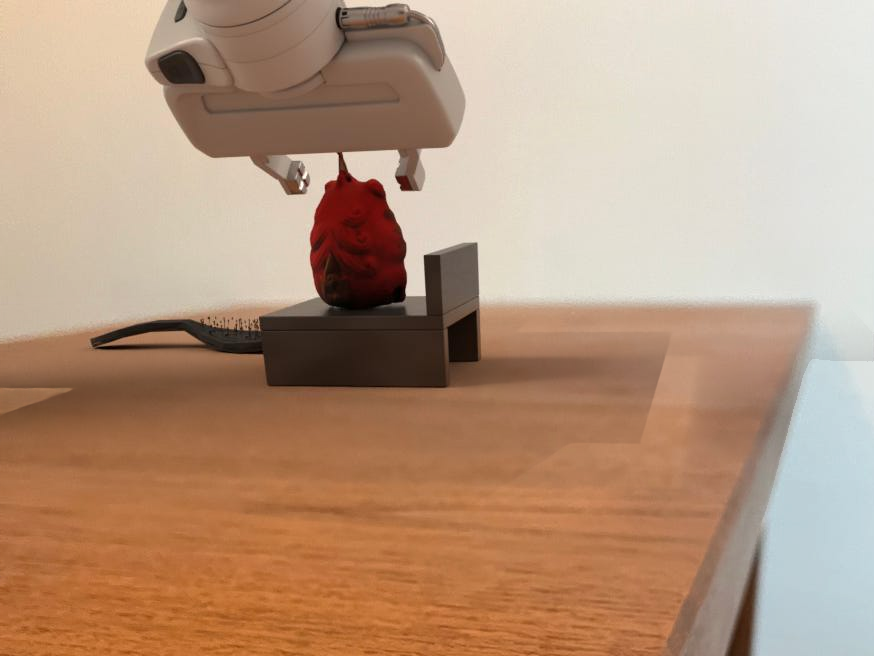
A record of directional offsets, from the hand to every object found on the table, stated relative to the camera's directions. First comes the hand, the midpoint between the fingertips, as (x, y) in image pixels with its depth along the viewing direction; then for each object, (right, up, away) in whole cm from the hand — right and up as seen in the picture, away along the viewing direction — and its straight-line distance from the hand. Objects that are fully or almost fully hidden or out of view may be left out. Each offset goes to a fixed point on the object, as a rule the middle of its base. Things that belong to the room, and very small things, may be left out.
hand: (356, 186), depth 74 cm
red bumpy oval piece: (0, -8, +3) cm, 9 cm away
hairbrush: (-16, -6, +20) cm, 26 cm away
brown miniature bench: (+1, -12, +5) cm, 13 cm away
